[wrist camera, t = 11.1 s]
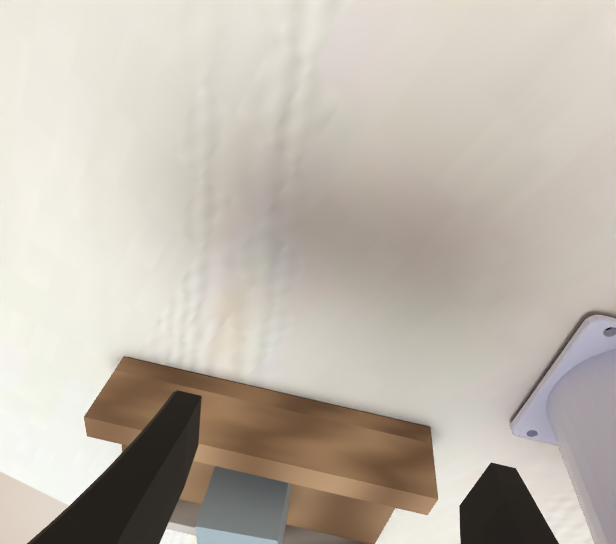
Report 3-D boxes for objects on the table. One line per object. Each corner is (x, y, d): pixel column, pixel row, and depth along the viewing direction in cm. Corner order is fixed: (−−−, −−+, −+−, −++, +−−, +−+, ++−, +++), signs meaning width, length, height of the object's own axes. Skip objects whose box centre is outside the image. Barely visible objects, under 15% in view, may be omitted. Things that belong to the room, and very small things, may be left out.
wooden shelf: (430, 427, 24) (438, 499, 21) (368, 539, 32) (367, 605, 28) (123, 356, 24) (83, 417, 21) (133, 485, 32) (104, 544, 29)
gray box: (294, 447, 25) (277, 540, 21) (289, 504, 29) (274, 594, 25) (225, 436, 26) (195, 526, 21) (227, 494, 29) (202, 581, 25)
